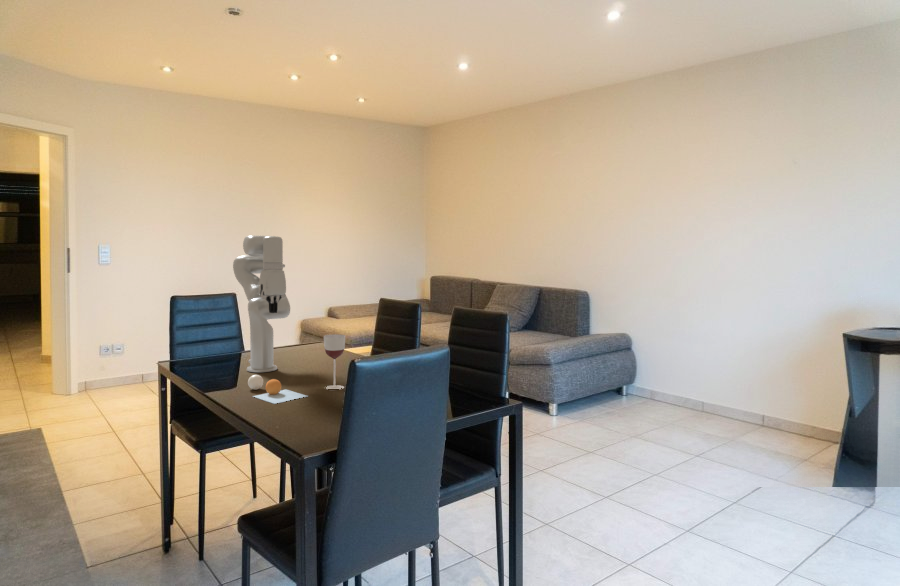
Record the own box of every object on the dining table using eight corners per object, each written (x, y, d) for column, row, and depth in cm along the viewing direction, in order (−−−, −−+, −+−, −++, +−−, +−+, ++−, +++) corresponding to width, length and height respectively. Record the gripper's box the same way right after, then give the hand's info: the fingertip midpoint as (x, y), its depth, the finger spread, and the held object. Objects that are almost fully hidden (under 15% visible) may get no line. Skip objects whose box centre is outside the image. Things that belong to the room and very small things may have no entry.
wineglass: (349, 386, 226) (349, 335, 224) (337, 391, 218) (338, 338, 216) (331, 384, 228) (331, 333, 227) (319, 389, 220) (319, 337, 219)
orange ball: (264, 377, 209) (272, 386, 206) (277, 375, 213) (285, 383, 210) (261, 390, 211) (268, 399, 208) (274, 387, 215) (282, 396, 212)
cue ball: (250, 375, 214) (253, 389, 213) (263, 372, 218) (267, 386, 217) (243, 377, 218) (247, 392, 217) (257, 374, 222) (261, 388, 221)
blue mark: (252, 396, 207) (252, 396, 207) (285, 389, 218) (285, 389, 218) (274, 404, 198) (274, 403, 198) (308, 396, 209) (308, 396, 209)
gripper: (283, 266, 240) (283, 310, 241) (250, 267, 229) (251, 313, 230) (294, 267, 235) (294, 312, 237) (261, 267, 224) (261, 315, 225)
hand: (273, 312), depth 233 cm, fingers closed
